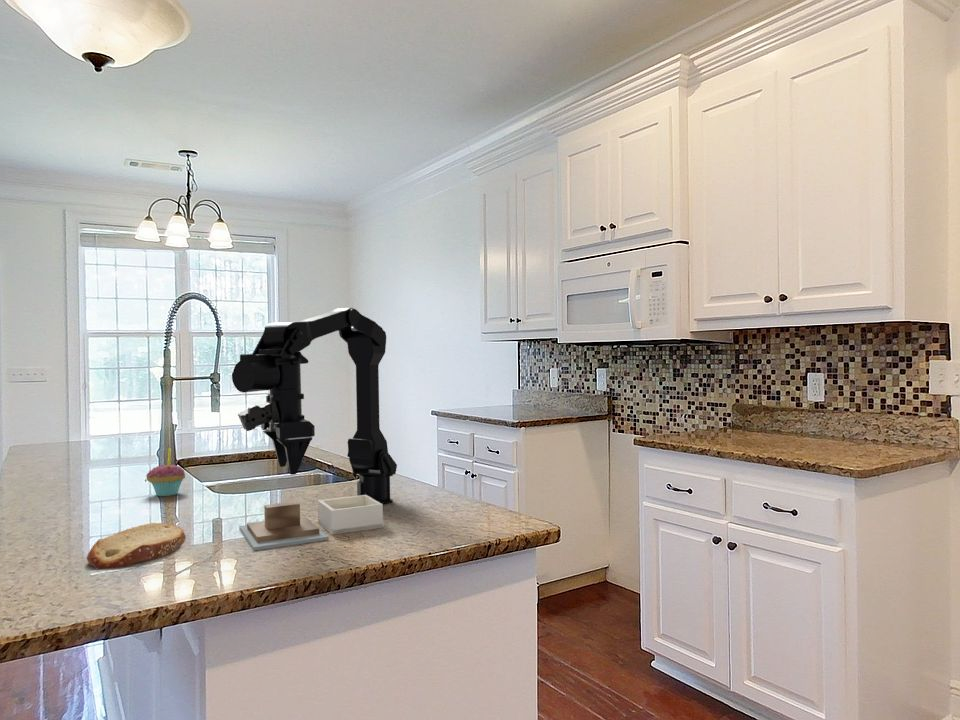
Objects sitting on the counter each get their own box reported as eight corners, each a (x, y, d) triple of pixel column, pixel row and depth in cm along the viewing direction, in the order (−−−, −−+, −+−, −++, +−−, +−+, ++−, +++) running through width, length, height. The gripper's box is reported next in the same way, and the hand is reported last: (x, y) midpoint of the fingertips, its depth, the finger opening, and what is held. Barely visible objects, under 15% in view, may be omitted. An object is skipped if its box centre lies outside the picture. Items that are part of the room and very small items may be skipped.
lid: (305, 520, 134) (304, 495, 134) (319, 534, 124) (318, 506, 124) (247, 528, 128) (246, 502, 128) (257, 542, 119) (256, 514, 119)
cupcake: (193, 492, 165) (192, 443, 164) (160, 499, 157) (159, 448, 157) (171, 489, 169) (171, 441, 169) (139, 495, 162) (138, 445, 162)
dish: (366, 516, 139) (366, 494, 139) (383, 527, 130) (382, 504, 130) (318, 522, 134) (317, 500, 134) (331, 534, 126) (331, 510, 125)
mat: (306, 520, 136) (306, 517, 136) (328, 539, 122) (328, 536, 122) (239, 529, 130) (239, 526, 130) (253, 550, 116) (253, 547, 116)
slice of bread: (171, 531, 131) (171, 512, 131) (211, 550, 118) (210, 529, 118) (66, 551, 118) (65, 530, 118) (97, 575, 105) (97, 551, 105)
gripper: (233, 388, 132) (235, 467, 133) (249, 393, 116) (252, 484, 116) (290, 385, 138) (292, 461, 138) (314, 390, 121) (316, 476, 122)
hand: (287, 470), depth 128 cm, fingers open, 9 cm apart
